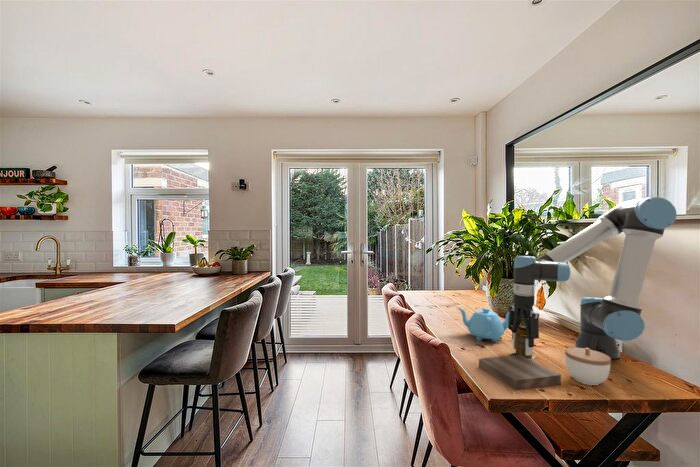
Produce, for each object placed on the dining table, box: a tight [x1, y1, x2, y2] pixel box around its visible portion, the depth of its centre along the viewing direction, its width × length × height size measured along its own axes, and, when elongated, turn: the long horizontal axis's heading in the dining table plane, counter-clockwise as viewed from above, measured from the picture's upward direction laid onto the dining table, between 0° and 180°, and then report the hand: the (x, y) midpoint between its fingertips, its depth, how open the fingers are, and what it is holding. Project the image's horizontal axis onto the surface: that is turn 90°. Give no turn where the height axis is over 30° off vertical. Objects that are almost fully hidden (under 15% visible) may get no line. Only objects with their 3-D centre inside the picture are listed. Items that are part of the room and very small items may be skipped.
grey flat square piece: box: [478, 355, 562, 391], centre depth 114 cm, size 18×18×3 cm
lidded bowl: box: [564, 347, 612, 386], centre depth 110 cm, size 13×13×11 cm
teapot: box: [457, 307, 509, 343], centre depth 153 cm, size 16×20×14 cm
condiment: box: [507, 324, 537, 361], centre depth 131 cm, size 7×8×12 cm
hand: (522, 351), depth 131 cm, fingers closed on condiment, 6 cm apart
